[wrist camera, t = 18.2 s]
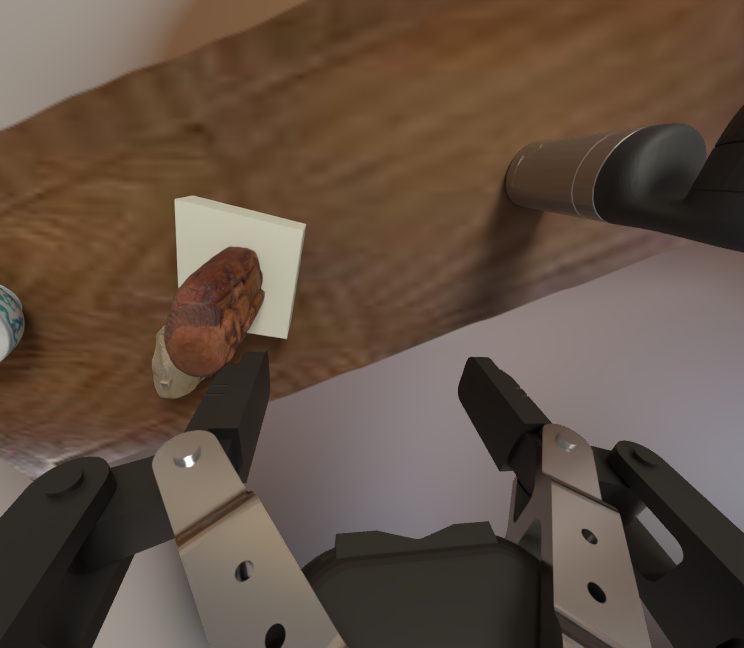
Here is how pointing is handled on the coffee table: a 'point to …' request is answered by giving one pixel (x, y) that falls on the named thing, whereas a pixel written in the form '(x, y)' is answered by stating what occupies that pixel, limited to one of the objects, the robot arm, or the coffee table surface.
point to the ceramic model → (170, 373)
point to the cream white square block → (248, 230)
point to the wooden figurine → (214, 312)
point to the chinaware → (10, 322)
